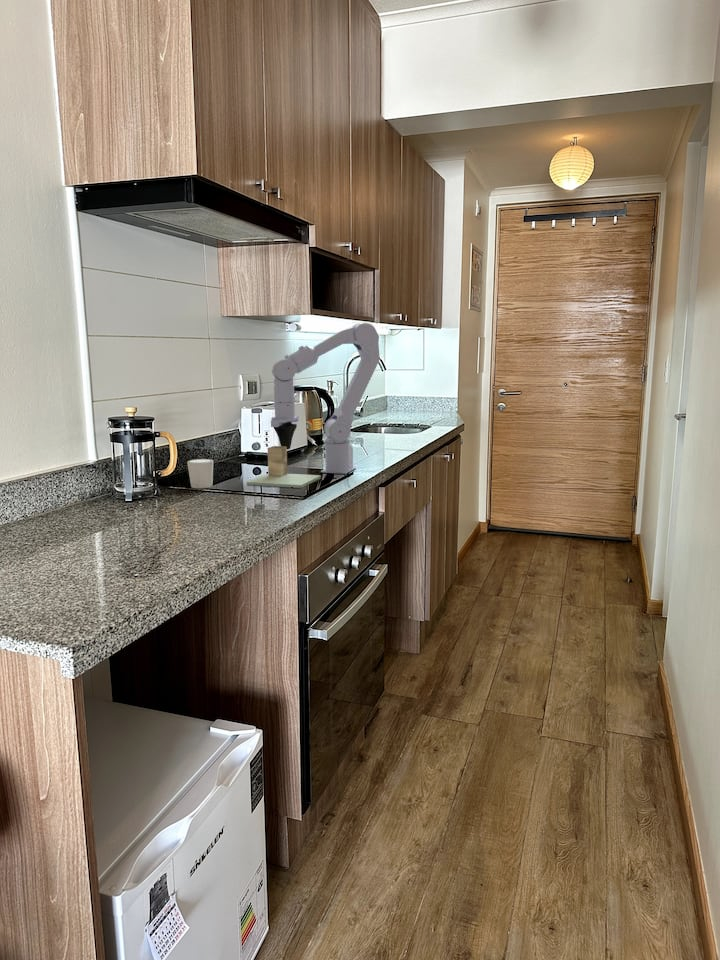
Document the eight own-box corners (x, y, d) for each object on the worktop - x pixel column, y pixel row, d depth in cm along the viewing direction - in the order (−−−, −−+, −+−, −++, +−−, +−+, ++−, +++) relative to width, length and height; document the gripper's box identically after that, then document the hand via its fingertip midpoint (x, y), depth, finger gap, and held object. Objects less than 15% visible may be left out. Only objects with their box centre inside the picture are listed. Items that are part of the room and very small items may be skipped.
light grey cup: (184, 488, 179) (182, 462, 178) (196, 483, 186) (194, 458, 185) (207, 489, 178) (206, 463, 176) (219, 484, 184) (217, 458, 183)
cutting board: (269, 475, 196) (269, 472, 196) (320, 478, 191) (320, 475, 191) (247, 484, 183) (246, 481, 183) (301, 488, 178) (301, 485, 178)
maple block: (274, 473, 195) (273, 446, 193) (287, 474, 193) (286, 446, 192) (268, 476, 191) (267, 448, 189) (281, 476, 190) (280, 448, 188)
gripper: (282, 400, 201) (284, 444, 204) (260, 404, 188) (262, 452, 191) (304, 400, 199) (305, 445, 202) (283, 404, 186) (284, 453, 188)
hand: (285, 449), depth 196 cm, fingers closed
